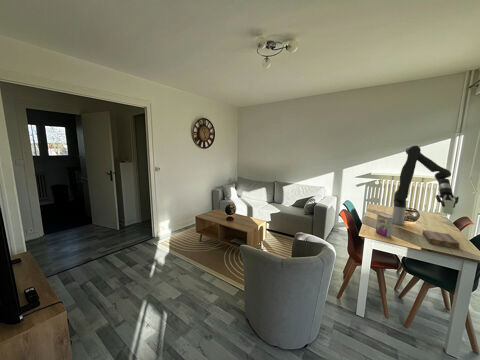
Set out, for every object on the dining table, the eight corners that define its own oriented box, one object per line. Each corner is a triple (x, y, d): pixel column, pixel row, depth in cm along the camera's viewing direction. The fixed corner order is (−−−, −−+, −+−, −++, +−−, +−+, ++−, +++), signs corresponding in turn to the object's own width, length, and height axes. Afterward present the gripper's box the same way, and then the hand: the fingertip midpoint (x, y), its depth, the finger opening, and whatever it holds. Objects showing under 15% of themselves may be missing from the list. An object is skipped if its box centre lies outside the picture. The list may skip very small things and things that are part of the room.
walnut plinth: (429, 243, 156) (430, 238, 155) (422, 234, 173) (423, 230, 172) (458, 248, 148) (459, 243, 147) (448, 238, 165) (448, 233, 165)
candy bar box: (375, 232, 178) (377, 213, 175) (380, 231, 179) (382, 213, 176) (386, 237, 167) (388, 218, 164) (391, 237, 168) (393, 217, 165)
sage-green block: (443, 213, 165) (445, 201, 164) (441, 211, 169) (443, 199, 168) (452, 214, 163) (454, 202, 161) (449, 212, 167) (451, 200, 166)
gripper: (435, 186, 173) (438, 203, 164) (459, 188, 166) (463, 206, 157) (432, 191, 178) (435, 208, 170) (455, 193, 172) (459, 210, 163)
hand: (448, 207), depth 164 cm, fingers closed on sage-green block, 5 cm apart
